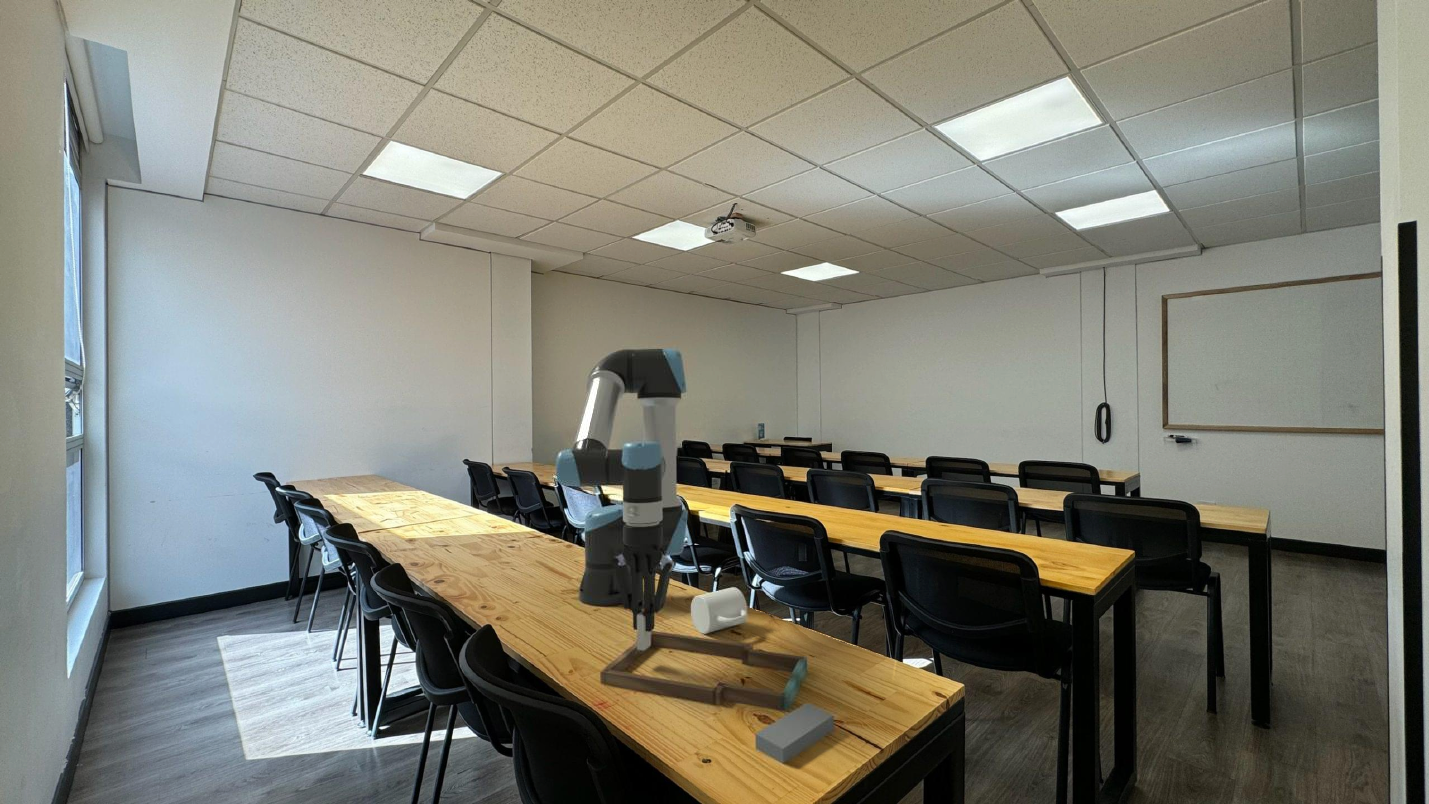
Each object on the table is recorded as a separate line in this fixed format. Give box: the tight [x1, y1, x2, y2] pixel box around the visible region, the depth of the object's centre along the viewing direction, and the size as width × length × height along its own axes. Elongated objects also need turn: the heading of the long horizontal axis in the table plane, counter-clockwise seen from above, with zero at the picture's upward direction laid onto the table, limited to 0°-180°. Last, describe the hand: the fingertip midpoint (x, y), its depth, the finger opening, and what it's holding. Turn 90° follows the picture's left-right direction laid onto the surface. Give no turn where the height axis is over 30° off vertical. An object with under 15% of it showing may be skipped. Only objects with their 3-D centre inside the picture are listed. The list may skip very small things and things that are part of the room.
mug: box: [690, 586, 749, 635], centre depth 126 cm, size 12×10×8 cm
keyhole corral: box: [599, 630, 808, 712], centre depth 105 cm, size 19×33×2 cm, turn 70°
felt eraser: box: [755, 702, 835, 765], centre depth 84 cm, size 12×5×3 cm, turn 134°
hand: (644, 647), depth 109 cm, fingers closed
